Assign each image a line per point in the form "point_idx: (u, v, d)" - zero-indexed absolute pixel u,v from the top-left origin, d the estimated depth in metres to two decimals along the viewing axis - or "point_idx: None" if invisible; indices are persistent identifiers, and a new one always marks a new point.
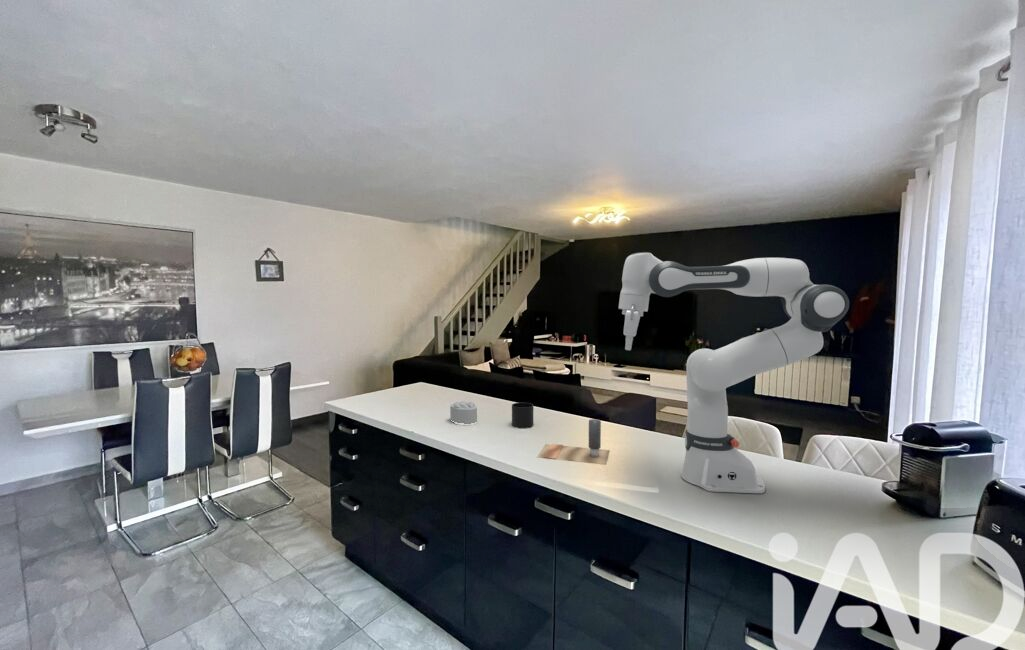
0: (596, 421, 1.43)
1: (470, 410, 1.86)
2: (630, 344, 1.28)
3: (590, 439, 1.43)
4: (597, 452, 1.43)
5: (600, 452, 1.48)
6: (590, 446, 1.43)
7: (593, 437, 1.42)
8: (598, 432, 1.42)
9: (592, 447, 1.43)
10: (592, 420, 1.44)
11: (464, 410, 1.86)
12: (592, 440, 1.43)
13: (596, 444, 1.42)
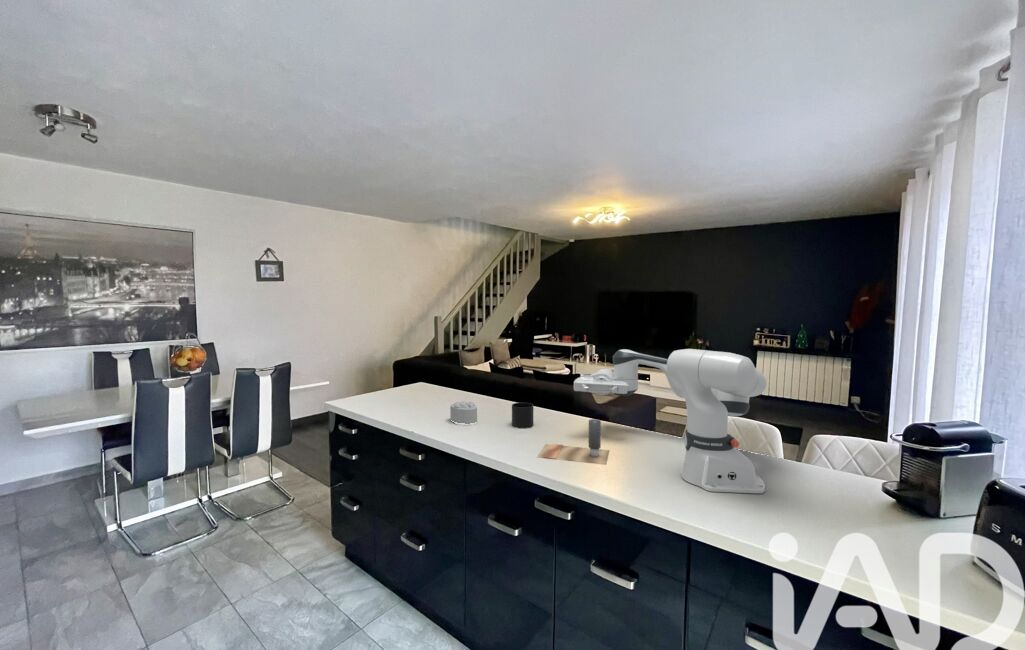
0: (596, 421, 1.43)
1: (470, 410, 1.86)
2: (614, 391, 1.56)
3: (590, 439, 1.43)
4: (597, 452, 1.43)
5: (600, 452, 1.48)
6: (590, 446, 1.43)
7: (593, 437, 1.42)
8: (598, 432, 1.42)
9: (592, 447, 1.43)
10: (592, 420, 1.44)
11: (465, 410, 1.86)
12: (592, 440, 1.43)
13: (596, 444, 1.42)
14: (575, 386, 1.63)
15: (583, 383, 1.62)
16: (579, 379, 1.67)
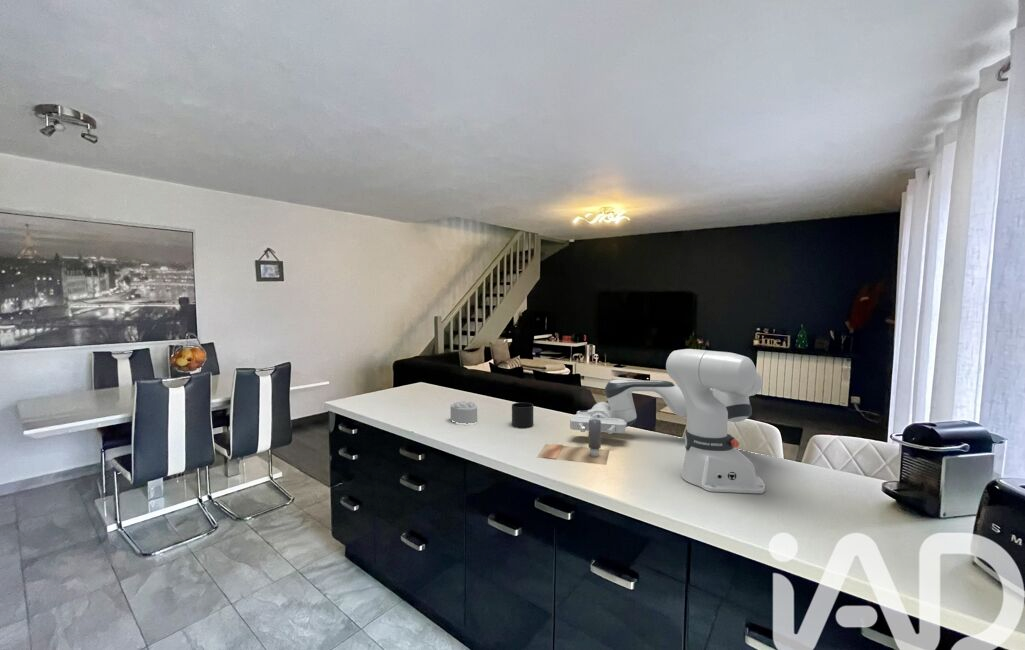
0: (596, 421, 1.43)
1: (470, 410, 1.86)
2: (612, 432, 1.51)
3: (590, 439, 1.43)
4: (597, 452, 1.43)
5: (600, 452, 1.48)
6: (590, 446, 1.43)
7: (593, 437, 1.42)
8: (598, 432, 1.42)
9: (592, 447, 1.43)
10: (592, 420, 1.44)
11: (465, 410, 1.86)
12: (592, 440, 1.43)
13: (596, 444, 1.42)
14: (572, 425, 1.58)
15: (580, 422, 1.57)
16: (576, 416, 1.62)
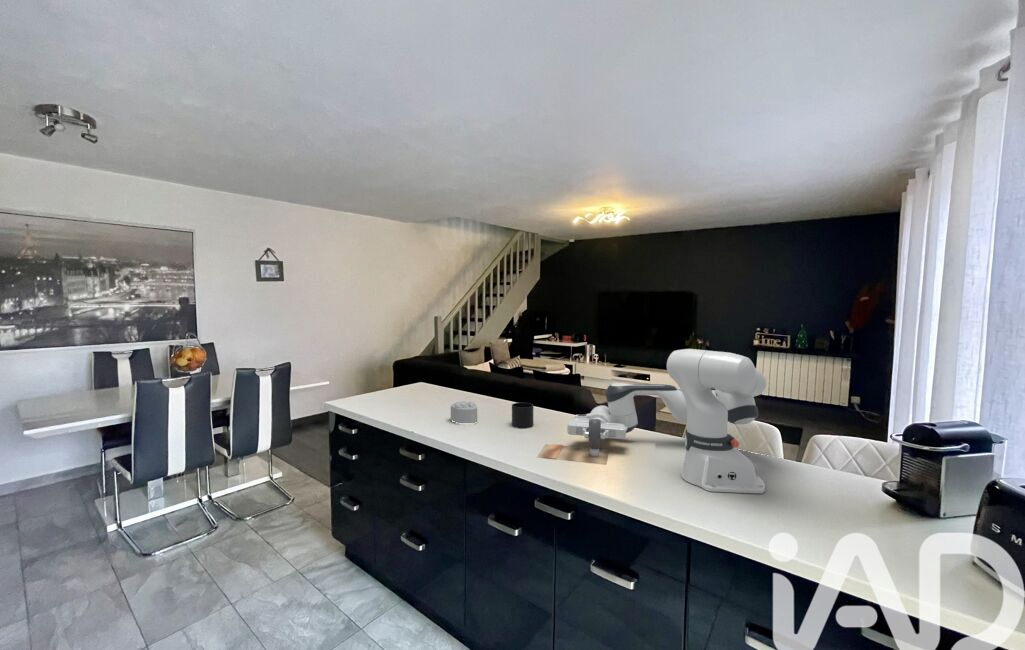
0: (596, 421, 1.43)
1: (471, 410, 1.87)
2: (605, 437, 1.44)
3: (590, 439, 1.43)
4: (597, 452, 1.43)
5: (600, 452, 1.48)
6: (590, 446, 1.43)
7: (593, 437, 1.42)
8: (598, 432, 1.42)
9: (592, 447, 1.43)
10: (592, 420, 1.44)
11: (465, 410, 1.86)
12: (592, 440, 1.43)
13: (596, 444, 1.42)
14: (569, 429, 1.51)
15: (578, 426, 1.50)
16: (573, 421, 1.54)
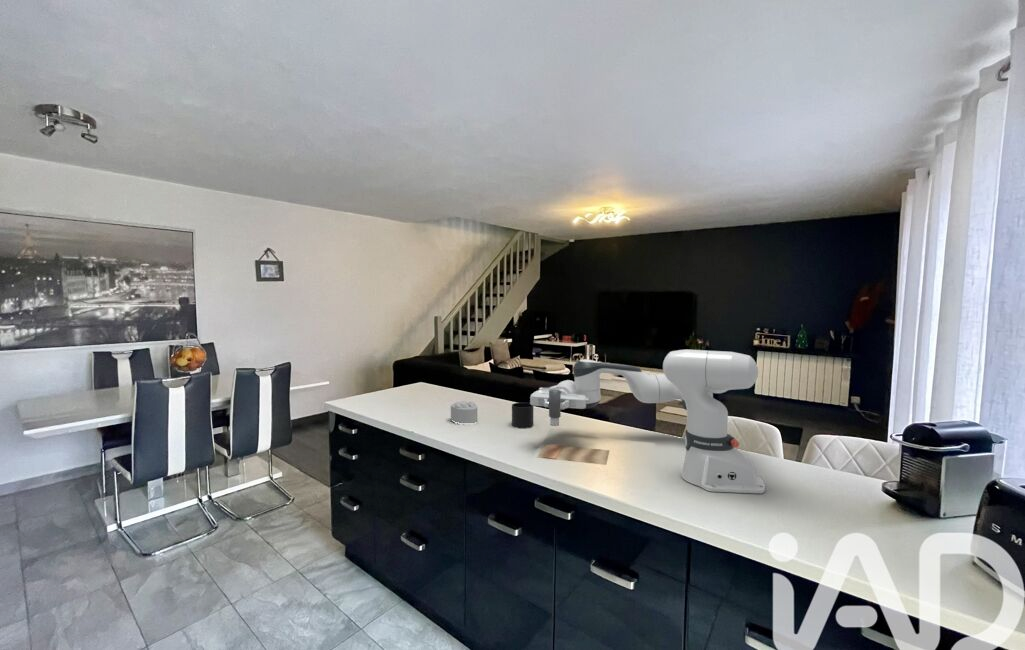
0: (556, 391, 1.47)
1: (471, 410, 1.87)
2: (565, 406, 1.48)
3: (550, 408, 1.47)
4: (557, 421, 1.47)
5: (600, 452, 1.48)
6: (550, 415, 1.47)
7: (553, 406, 1.46)
8: (557, 401, 1.46)
9: (552, 416, 1.47)
10: (552, 390, 1.48)
11: (465, 410, 1.86)
12: (551, 409, 1.47)
13: (556, 413, 1.46)
14: (531, 400, 1.55)
15: (540, 397, 1.54)
16: (537, 392, 1.58)
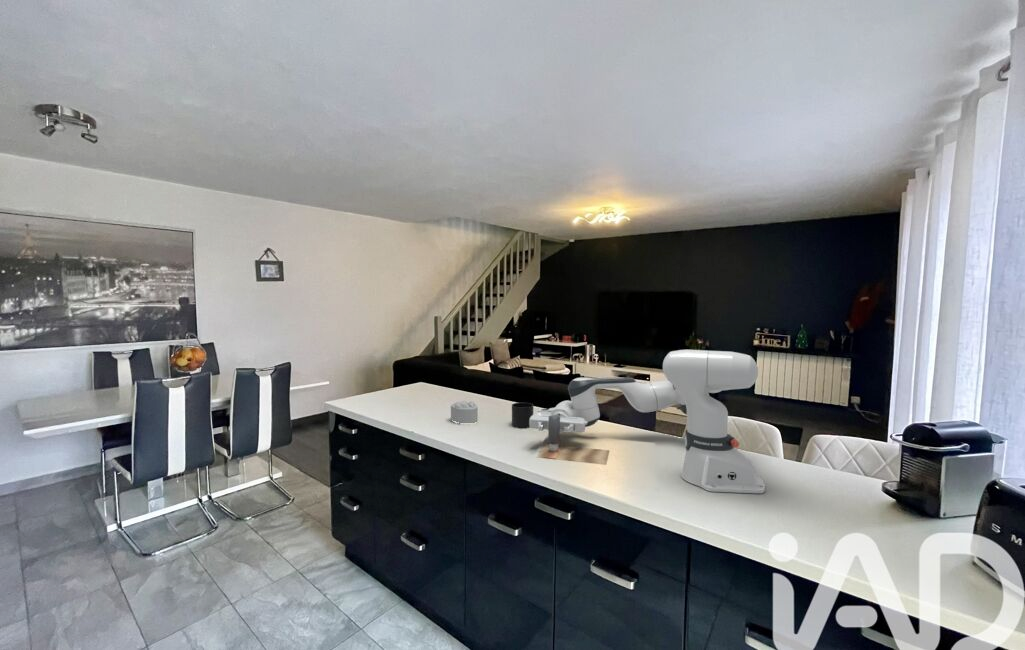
0: (555, 417, 1.47)
1: (471, 410, 1.87)
2: (570, 430, 1.48)
3: (549, 434, 1.47)
4: (556, 447, 1.47)
5: (600, 452, 1.48)
6: (549, 441, 1.47)
7: (552, 432, 1.46)
8: (557, 428, 1.46)
9: (551, 442, 1.47)
10: (552, 416, 1.48)
11: (465, 410, 1.86)
12: (551, 435, 1.47)
13: (555, 440, 1.46)
14: (531, 423, 1.55)
15: (539, 420, 1.54)
16: (536, 415, 1.58)
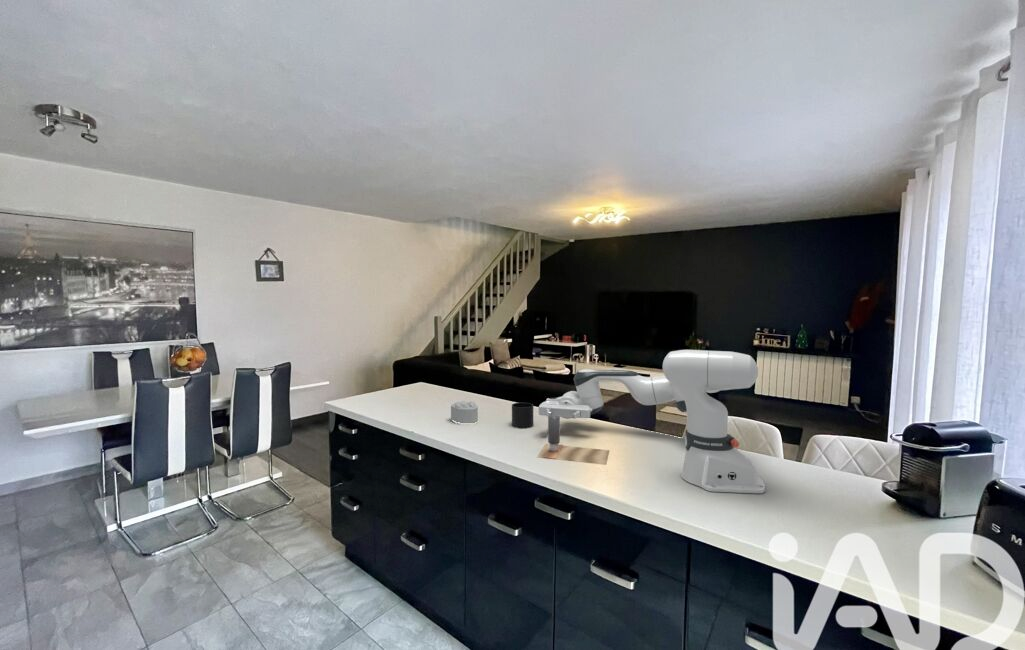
0: (555, 417, 1.47)
1: (471, 410, 1.87)
2: (576, 416, 1.61)
3: (549, 434, 1.47)
4: (556, 447, 1.47)
5: (600, 452, 1.48)
6: (549, 441, 1.47)
7: (552, 432, 1.47)
8: (557, 427, 1.47)
9: (551, 442, 1.47)
10: (551, 416, 1.49)
11: (466, 410, 1.87)
12: (550, 435, 1.47)
13: (555, 440, 1.47)
14: (540, 410, 1.68)
15: (547, 408, 1.67)
16: (544, 403, 1.72)
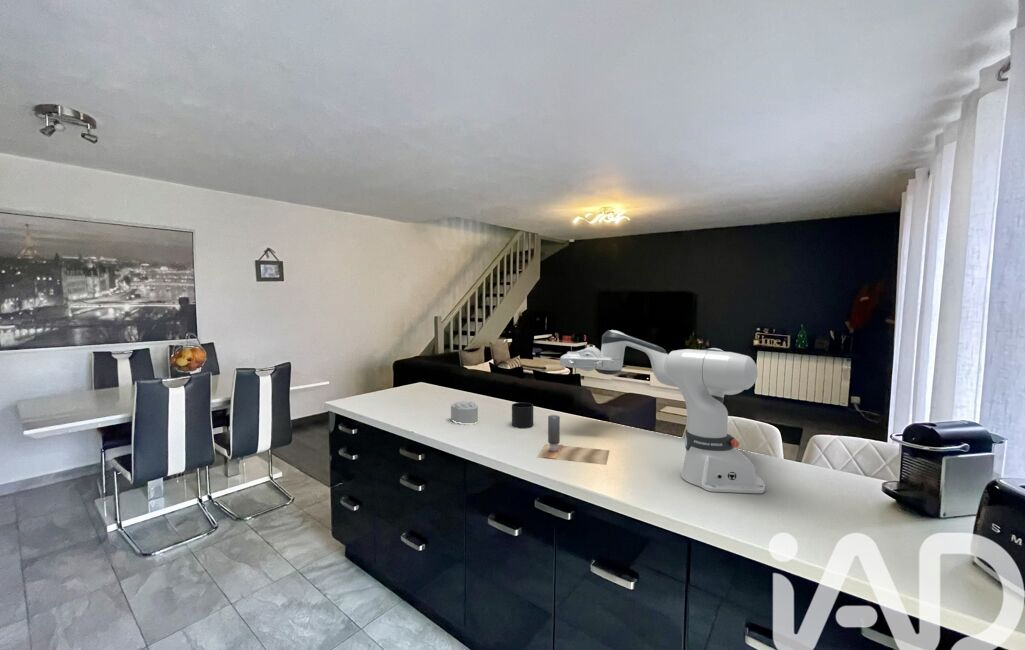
0: (555, 417, 1.47)
1: (471, 410, 1.87)
2: (599, 365, 1.61)
3: (549, 434, 1.47)
4: (556, 447, 1.47)
5: (600, 452, 1.48)
6: (549, 441, 1.47)
7: (552, 432, 1.47)
8: (557, 427, 1.47)
9: (551, 442, 1.47)
10: (551, 416, 1.49)
11: (466, 410, 1.87)
12: (550, 435, 1.47)
13: (555, 440, 1.47)
14: (561, 361, 1.68)
15: (569, 358, 1.67)
16: (566, 355, 1.72)
